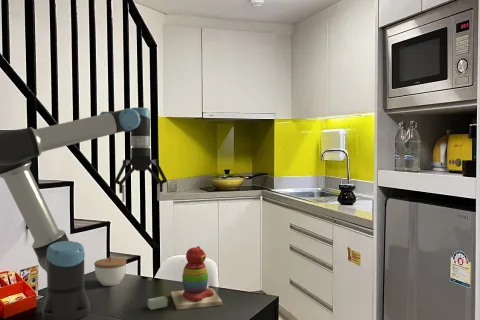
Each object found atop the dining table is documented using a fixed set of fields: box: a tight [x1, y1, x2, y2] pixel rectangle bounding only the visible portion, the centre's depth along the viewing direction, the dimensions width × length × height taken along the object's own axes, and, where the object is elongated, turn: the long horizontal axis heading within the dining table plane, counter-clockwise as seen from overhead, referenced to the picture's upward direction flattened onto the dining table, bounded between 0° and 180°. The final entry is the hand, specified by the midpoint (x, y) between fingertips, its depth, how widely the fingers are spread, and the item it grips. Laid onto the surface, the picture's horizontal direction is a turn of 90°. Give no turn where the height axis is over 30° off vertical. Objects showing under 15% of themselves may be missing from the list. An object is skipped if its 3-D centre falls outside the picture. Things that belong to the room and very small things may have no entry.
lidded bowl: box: [94, 256, 127, 287], centre depth 188 cm, size 13×13×11 cm
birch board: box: [170, 287, 223, 311], centre depth 166 cm, size 16×16×2 cm
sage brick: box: [147, 295, 168, 311], centre depth 159 cm, size 6×3×3 cm, turn 121°
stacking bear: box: [181, 245, 214, 302], centre depth 166 cm, size 11×10×18 cm
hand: (141, 201), depth 180 cm, fingers open, 13 cm apart
